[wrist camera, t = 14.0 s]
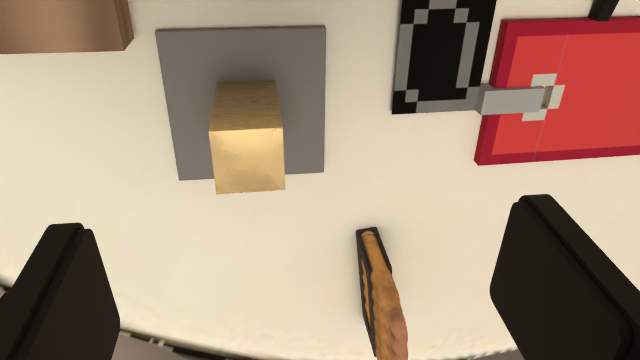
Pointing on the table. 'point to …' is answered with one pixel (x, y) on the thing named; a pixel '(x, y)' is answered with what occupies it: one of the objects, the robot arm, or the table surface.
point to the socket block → (64, 26)
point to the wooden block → (247, 137)
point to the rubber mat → (244, 65)
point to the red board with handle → (525, 79)
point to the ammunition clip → (380, 299)
